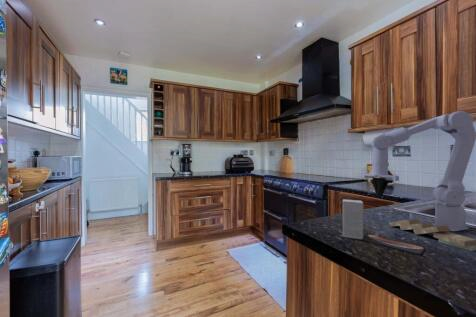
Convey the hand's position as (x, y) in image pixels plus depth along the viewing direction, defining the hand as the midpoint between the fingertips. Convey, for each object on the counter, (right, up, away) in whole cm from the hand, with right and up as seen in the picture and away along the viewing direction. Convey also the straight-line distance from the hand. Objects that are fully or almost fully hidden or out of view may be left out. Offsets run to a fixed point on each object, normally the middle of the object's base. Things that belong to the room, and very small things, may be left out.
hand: (379, 196), depth 94 cm
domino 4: (+6, -9, -21) cm, 24 cm away
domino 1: (+2, -10, -7) cm, 12 cm away
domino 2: (+3, -10, -11) cm, 15 cm away
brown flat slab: (-13, -11, -26) cm, 31 cm away
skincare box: (-22, -10, -20) cm, 31 cm away
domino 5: (+7, -10, -22) cm, 25 cm away
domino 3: (+4, -10, -16) cm, 19 cm away
